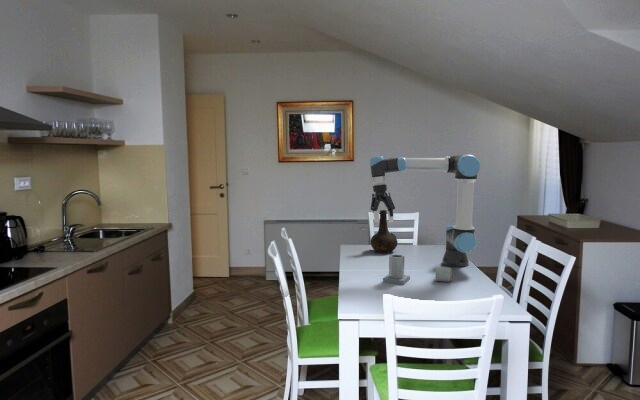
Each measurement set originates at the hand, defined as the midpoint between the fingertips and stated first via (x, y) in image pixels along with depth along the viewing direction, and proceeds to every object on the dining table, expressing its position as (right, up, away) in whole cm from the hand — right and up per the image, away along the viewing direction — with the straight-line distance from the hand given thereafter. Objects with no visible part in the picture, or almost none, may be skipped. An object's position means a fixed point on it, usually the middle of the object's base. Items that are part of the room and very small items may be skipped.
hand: (384, 222), depth 252 cm
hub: (+4, -27, -17) cm, 32 cm away
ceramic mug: (+28, -30, -17) cm, 44 cm away
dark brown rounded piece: (+7, -22, +54) cm, 58 cm away
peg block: (+4, -29, -17) cm, 34 cm away
